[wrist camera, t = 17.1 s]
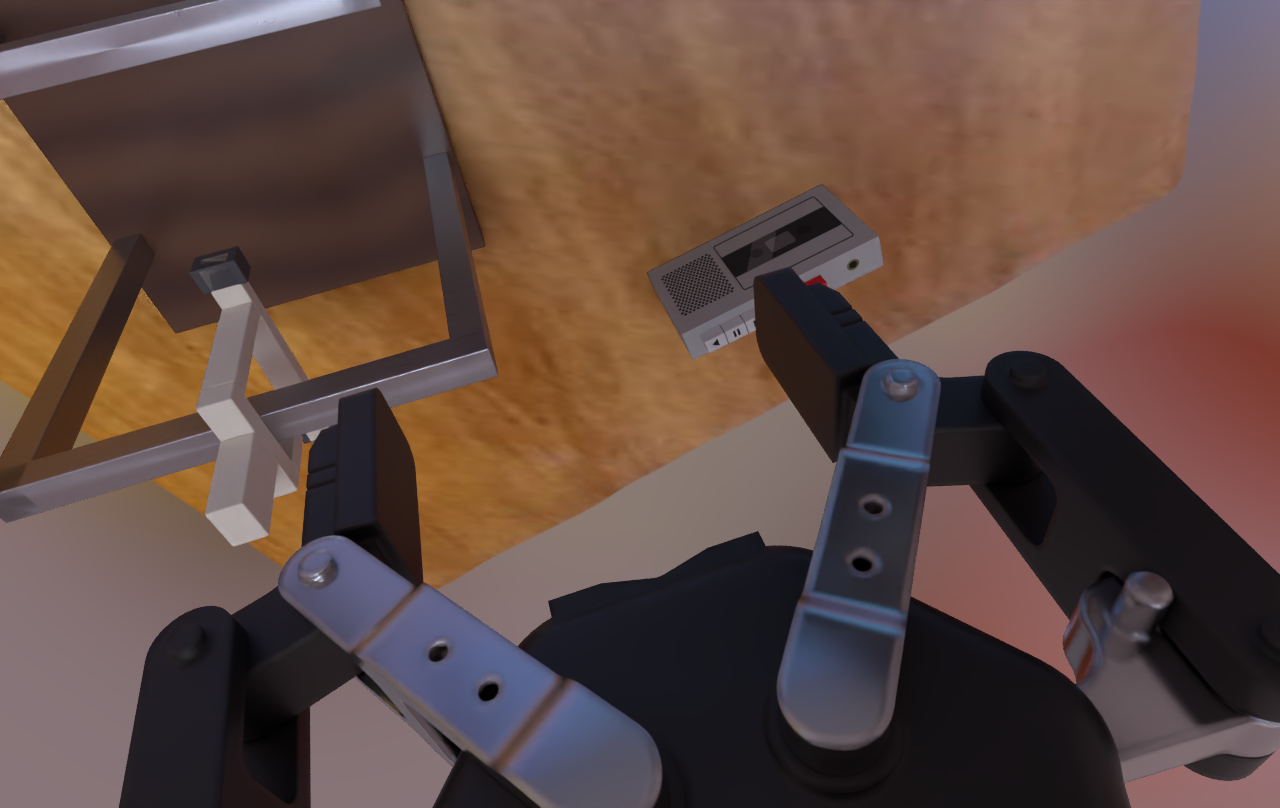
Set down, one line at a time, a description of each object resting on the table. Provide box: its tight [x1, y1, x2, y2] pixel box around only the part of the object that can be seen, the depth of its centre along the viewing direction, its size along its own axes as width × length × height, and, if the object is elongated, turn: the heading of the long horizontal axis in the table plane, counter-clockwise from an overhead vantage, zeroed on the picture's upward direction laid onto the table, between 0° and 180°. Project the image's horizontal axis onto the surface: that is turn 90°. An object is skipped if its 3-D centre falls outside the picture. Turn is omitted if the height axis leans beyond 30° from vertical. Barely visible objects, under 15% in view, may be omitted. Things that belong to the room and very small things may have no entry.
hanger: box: [189, 246, 337, 546], centre depth 33 cm, size 11×2×13 cm, turn 9°
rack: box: [0, 0, 498, 523], centre depth 36 cm, size 26×22×24 cm
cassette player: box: [647, 184, 883, 360], centre depth 57 cm, size 16×3×10 cm, turn 112°
